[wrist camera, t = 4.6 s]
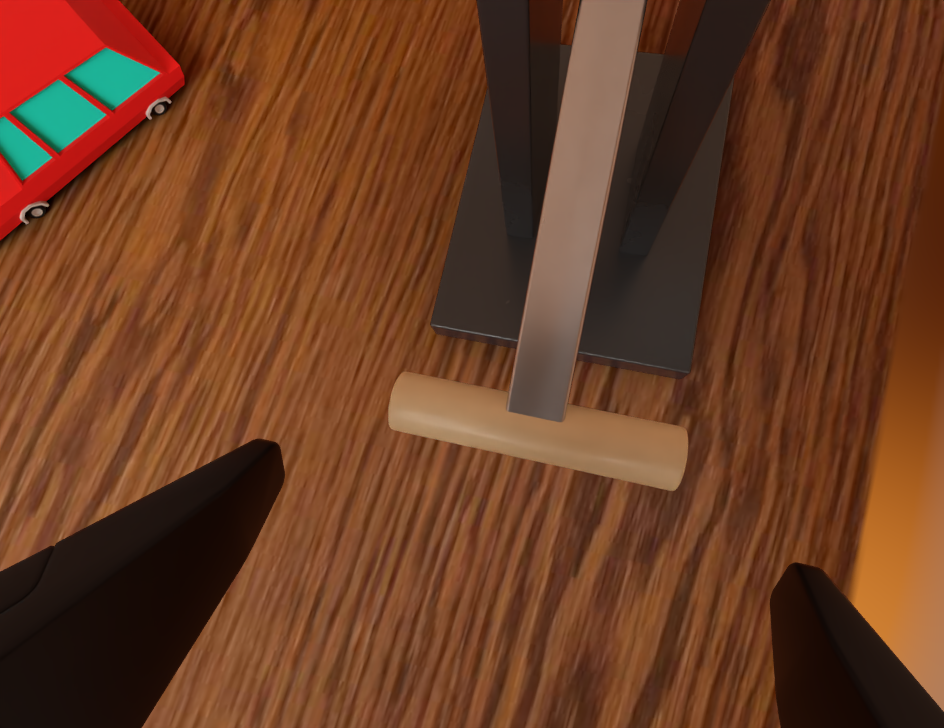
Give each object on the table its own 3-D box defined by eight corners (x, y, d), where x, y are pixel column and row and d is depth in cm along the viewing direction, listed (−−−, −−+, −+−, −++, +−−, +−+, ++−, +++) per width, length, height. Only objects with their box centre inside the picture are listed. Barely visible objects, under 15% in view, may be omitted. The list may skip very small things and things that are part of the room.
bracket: (681, 380, 19) (1018, 144, 6) (435, 334, 21) (241, 58, 7) (726, 83, 21) (1048, -596, 8) (501, 60, 23) (447, -548, 9)
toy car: (-78, 174, 25) (-192, 117, 21) (123, 7, 26) (49, -78, 22) (-13, 269, 24) (-123, 226, 20) (200, 89, 24) (134, 13, 20)
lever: (661, 471, 11) (685, 513, 9) (410, 417, 12) (372, 443, 10) (804, -165, 10) (878, -314, 7) (504, -175, 11) (485, -311, 8)
